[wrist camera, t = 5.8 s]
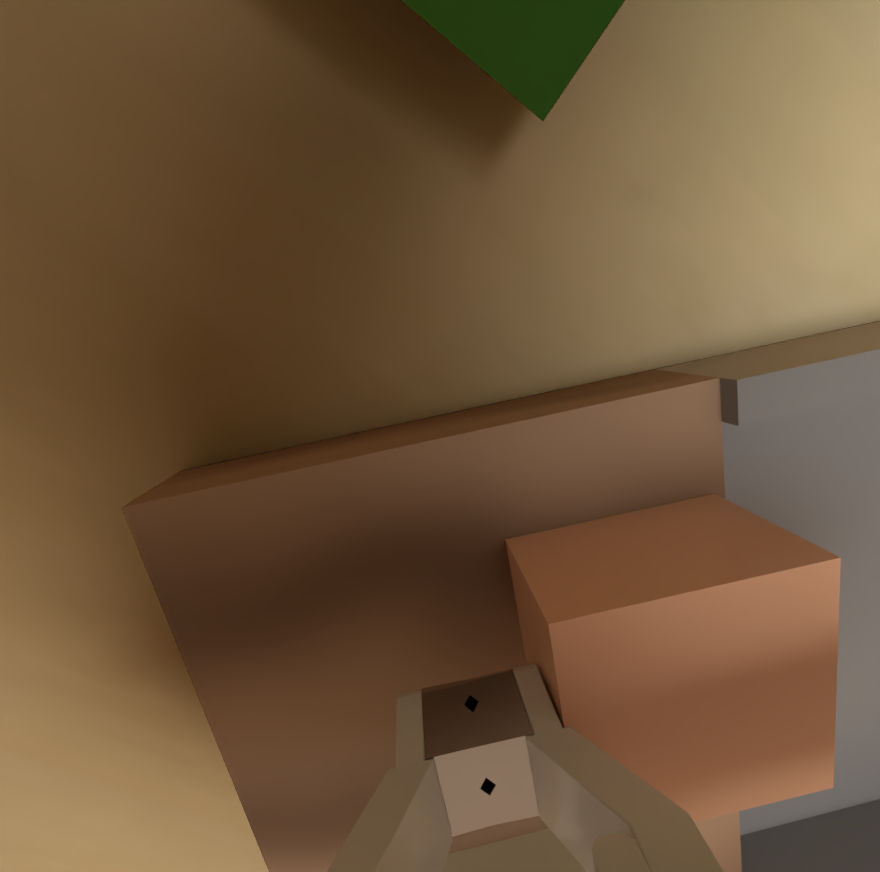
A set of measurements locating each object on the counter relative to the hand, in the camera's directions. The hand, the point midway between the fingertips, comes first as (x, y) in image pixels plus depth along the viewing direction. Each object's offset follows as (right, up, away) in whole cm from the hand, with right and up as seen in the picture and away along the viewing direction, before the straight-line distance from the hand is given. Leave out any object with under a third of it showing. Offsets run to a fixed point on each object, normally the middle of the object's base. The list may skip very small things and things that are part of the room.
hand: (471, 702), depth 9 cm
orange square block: (+4, +1, +1) cm, 4 cm away
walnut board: (+1, -2, +5) cm, 5 cm away
